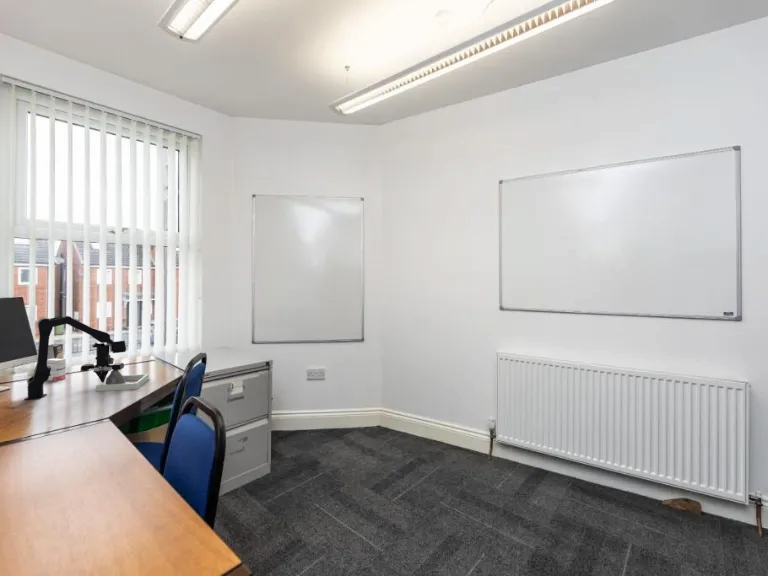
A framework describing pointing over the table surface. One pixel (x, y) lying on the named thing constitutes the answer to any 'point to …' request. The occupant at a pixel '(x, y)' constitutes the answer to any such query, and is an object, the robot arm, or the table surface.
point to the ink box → (57, 369)
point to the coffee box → (55, 351)
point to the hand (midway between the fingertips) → (102, 382)
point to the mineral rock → (115, 378)
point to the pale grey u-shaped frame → (140, 377)
